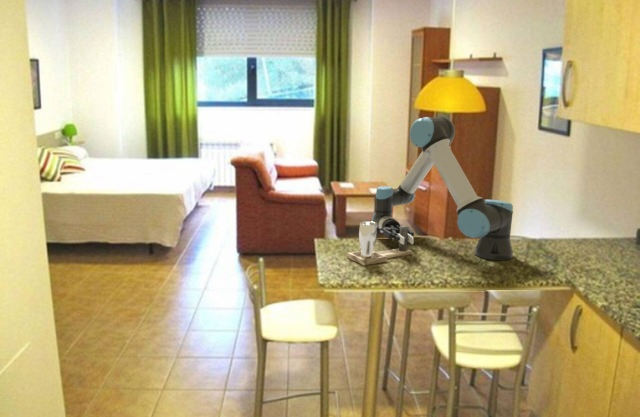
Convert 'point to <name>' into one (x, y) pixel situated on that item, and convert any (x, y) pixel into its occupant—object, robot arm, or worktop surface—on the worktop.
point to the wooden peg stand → (383, 252)
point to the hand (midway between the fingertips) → (407, 240)
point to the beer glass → (367, 239)
